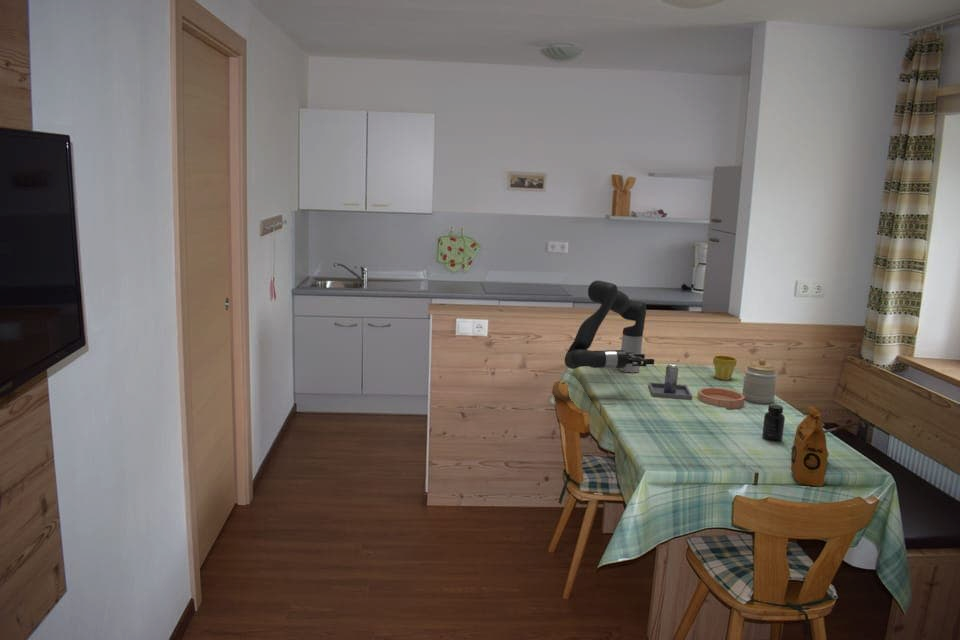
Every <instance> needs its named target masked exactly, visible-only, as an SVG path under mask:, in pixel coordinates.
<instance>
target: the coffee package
mask: <svg viewBox="0 0 960 640" xmlns="http://www.w3.org/2000/svg"><path fill="white" fill-rule="evenodd" d="M806 410H807V412H808V414H807V415H806V416H805V418H803V420H802V421H801V422H800V423H799V424H798V425H797V427H796V430H795V436H794V438H793V439H794V440H793V443H792V444H793V445H792V446H793V450H791V454H790V455H791V456H790V470H791V473H792V475H793V477H794V478H795V479H796V482H797V483H798V484H799V485H806V486H812V487H816V488H817V487H819V488H823V486H824V482H825V477H826V474H827V473H826V472H827V466H828V457H829V455H828V454H829V452H828V453H827V450H828V448H827V438H826V437H827V436H826V433H824V426H823V427H822V424H821V412H820V411H819V410H818V409H816V408H815V407H814V406H811V405H810V406H808V407H807V409H806Z"/></svg>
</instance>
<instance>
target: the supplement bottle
mask: <svg viewBox="0 0 960 640" xmlns="http://www.w3.org/2000/svg"><path fill="white" fill-rule="evenodd" d="M767 408H768V409H767V412H765V414H764V416H763V424H762V425H763V426H762V434H761V435H762V438H763V440H764V439H765V440H766V441H770V442H781V441H782V440H783V436H784V429H785V428H784V427H785V419H786V417H785V415H784V414H783V413H784V407H783V406H782V405H779V404H769V405H768V407H767Z"/></svg>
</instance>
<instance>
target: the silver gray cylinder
mask: <svg viewBox="0 0 960 640" xmlns="http://www.w3.org/2000/svg"><path fill="white" fill-rule="evenodd" d="M678 375H679V367H678V365H677V364H676V363H675V364H672V363H668V364H667V366H665V374H664V383H663V384H664V393H670V394H676V387H677V385H678Z"/></svg>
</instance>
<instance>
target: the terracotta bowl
mask: <svg viewBox="0 0 960 640" xmlns="http://www.w3.org/2000/svg"><path fill="white" fill-rule="evenodd" d="M696 397H697V399H698V400H699V401H700V402H701V403H704V404H707V405H712V406H717V407H723V408H725V409H727V410H734V409H735V410H736V409H741V408H743V407H744V406H745V401H746V400H745V397H744V396H743V394H742V392H738V391H736V390H733V389H726V388H720V387H702V388H700V389H698V390H697V396H696Z"/></svg>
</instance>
